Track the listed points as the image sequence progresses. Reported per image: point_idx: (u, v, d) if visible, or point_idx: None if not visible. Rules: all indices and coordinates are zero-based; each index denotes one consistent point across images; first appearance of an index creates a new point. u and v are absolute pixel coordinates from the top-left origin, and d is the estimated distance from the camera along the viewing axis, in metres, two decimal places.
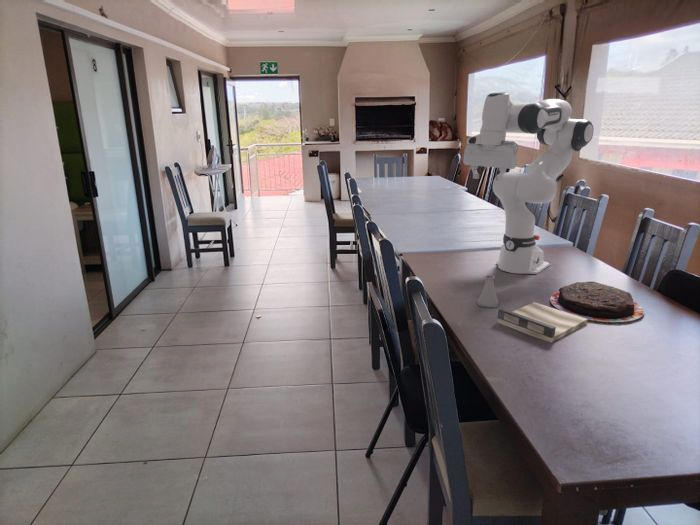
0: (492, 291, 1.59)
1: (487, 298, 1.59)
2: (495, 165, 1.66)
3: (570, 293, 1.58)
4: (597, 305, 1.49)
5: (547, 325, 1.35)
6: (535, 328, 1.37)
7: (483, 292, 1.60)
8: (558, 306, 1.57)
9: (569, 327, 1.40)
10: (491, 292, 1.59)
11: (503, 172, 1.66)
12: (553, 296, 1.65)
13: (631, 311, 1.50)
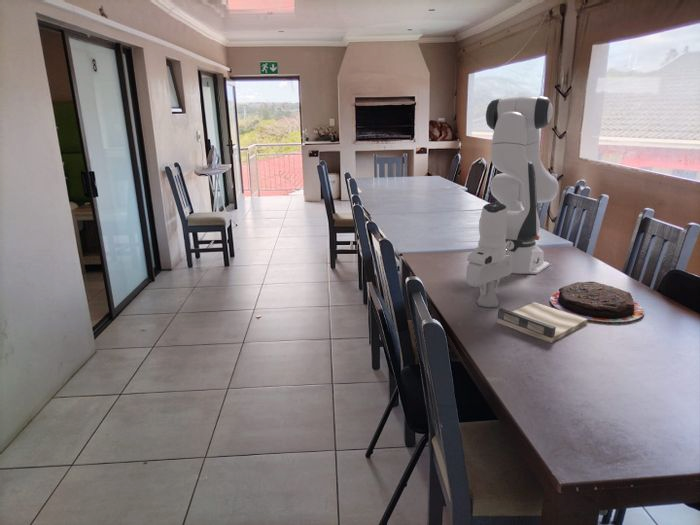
0: (492, 291, 1.59)
1: (487, 298, 1.59)
2: (501, 276, 1.60)
3: (570, 293, 1.58)
4: (597, 305, 1.49)
5: (547, 325, 1.35)
6: (535, 328, 1.37)
7: None
8: (558, 306, 1.57)
9: (569, 327, 1.40)
10: (491, 292, 1.59)
11: None
12: (553, 296, 1.65)
13: (631, 311, 1.50)
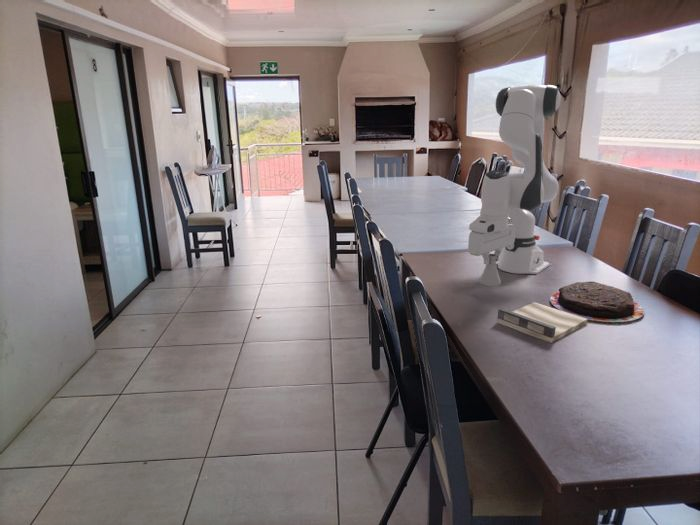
0: (494, 270, 1.57)
1: (488, 277, 1.57)
2: (504, 245, 1.57)
3: (570, 293, 1.58)
4: (597, 305, 1.49)
5: (547, 325, 1.35)
6: (535, 328, 1.37)
7: (485, 271, 1.59)
8: (558, 306, 1.57)
9: (569, 327, 1.40)
10: (493, 271, 1.57)
11: None
12: (553, 296, 1.65)
13: (631, 311, 1.50)
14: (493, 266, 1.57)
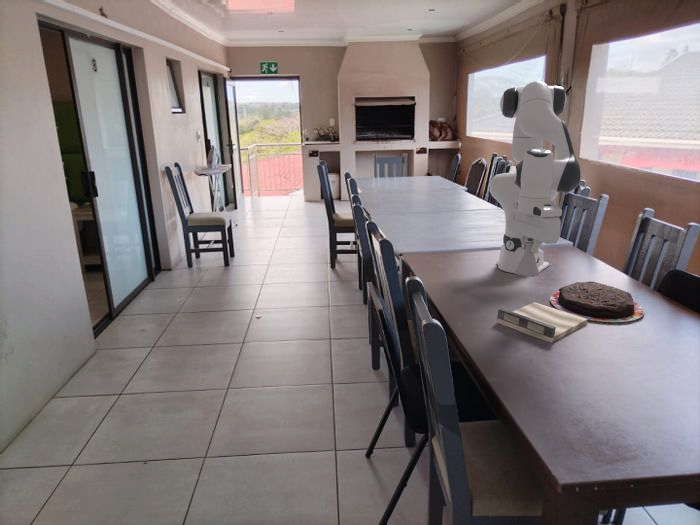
0: None
1: (535, 266, 1.44)
2: None
3: (570, 293, 1.58)
4: (597, 305, 1.49)
5: (547, 325, 1.35)
6: (535, 328, 1.37)
7: (529, 261, 1.44)
8: (558, 306, 1.57)
9: (569, 327, 1.40)
10: (535, 259, 1.45)
11: None
12: (553, 296, 1.65)
13: (631, 311, 1.50)
14: None
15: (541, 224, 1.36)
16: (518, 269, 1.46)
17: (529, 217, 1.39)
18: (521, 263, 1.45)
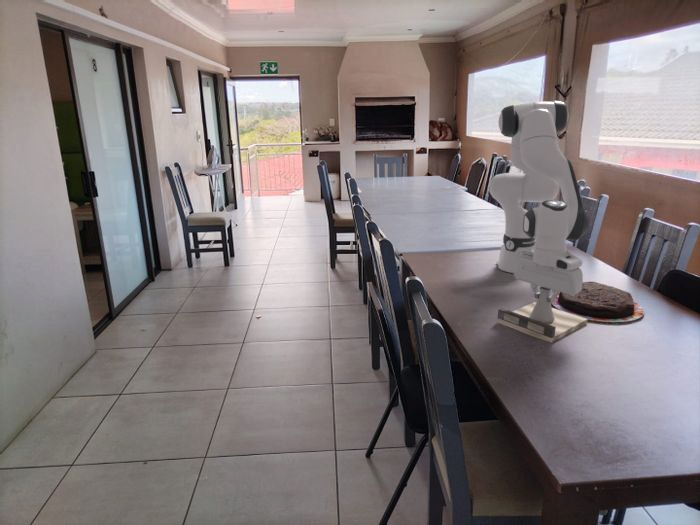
0: None
1: (551, 311, 1.44)
2: None
3: None
4: (597, 305, 1.49)
5: (547, 325, 1.35)
6: (535, 328, 1.37)
7: (547, 307, 1.43)
8: (558, 306, 1.57)
9: (569, 327, 1.40)
10: None
11: None
12: None
13: (631, 311, 1.50)
14: None
15: (564, 276, 1.36)
16: (535, 316, 1.44)
17: (549, 269, 1.38)
18: (538, 309, 1.44)
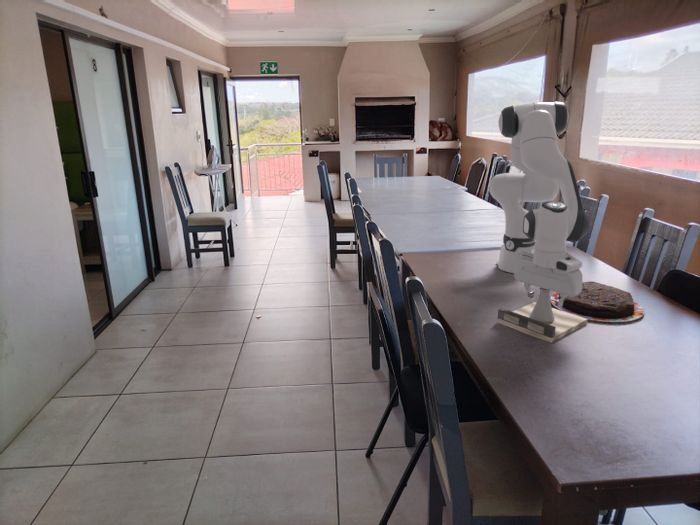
0: None
1: (551, 311, 1.44)
2: None
3: None
4: (597, 304, 1.49)
5: (547, 325, 1.35)
6: (535, 328, 1.37)
7: (547, 307, 1.43)
8: None
9: (569, 327, 1.40)
10: None
11: None
12: (553, 296, 1.65)
13: (631, 311, 1.50)
14: None
15: (564, 277, 1.36)
16: (535, 316, 1.44)
17: (549, 271, 1.39)
18: (538, 309, 1.44)
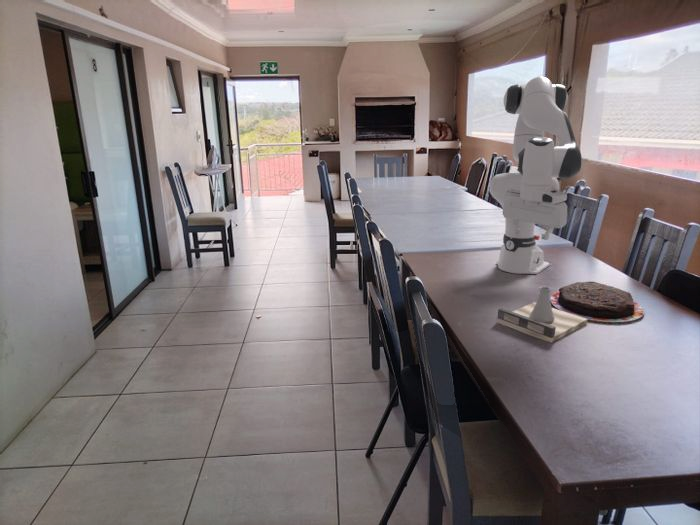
0: None
1: (551, 311, 1.44)
2: None
3: (570, 293, 1.58)
4: (597, 305, 1.49)
5: (547, 325, 1.35)
6: (535, 328, 1.37)
7: (547, 307, 1.43)
8: (558, 306, 1.57)
9: (569, 327, 1.40)
10: None
11: None
12: (553, 296, 1.65)
13: (631, 311, 1.50)
14: None
15: (549, 210, 1.42)
16: (535, 316, 1.44)
17: (535, 204, 1.44)
18: (538, 309, 1.44)
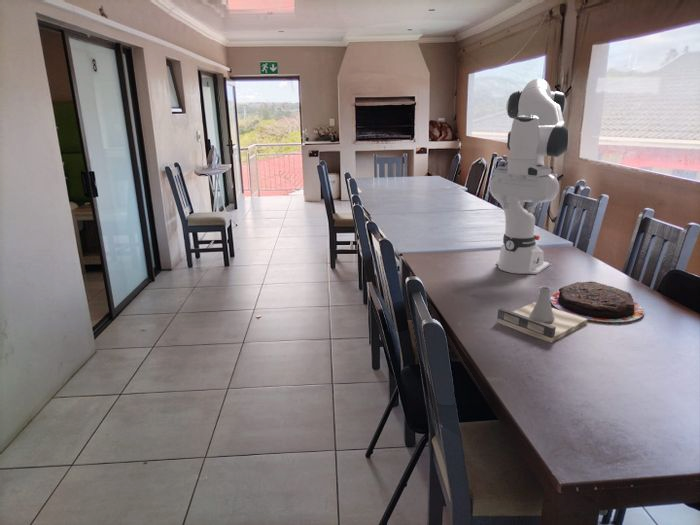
0: None
1: (551, 311, 1.44)
2: None
3: (570, 293, 1.58)
4: (597, 305, 1.49)
5: (547, 325, 1.35)
6: (535, 328, 1.37)
7: (547, 307, 1.43)
8: (558, 306, 1.57)
9: (569, 327, 1.40)
10: None
11: None
12: (553, 296, 1.65)
13: (631, 311, 1.50)
14: None
15: (535, 183, 1.49)
16: (535, 316, 1.44)
17: (521, 178, 1.51)
18: (538, 309, 1.44)
